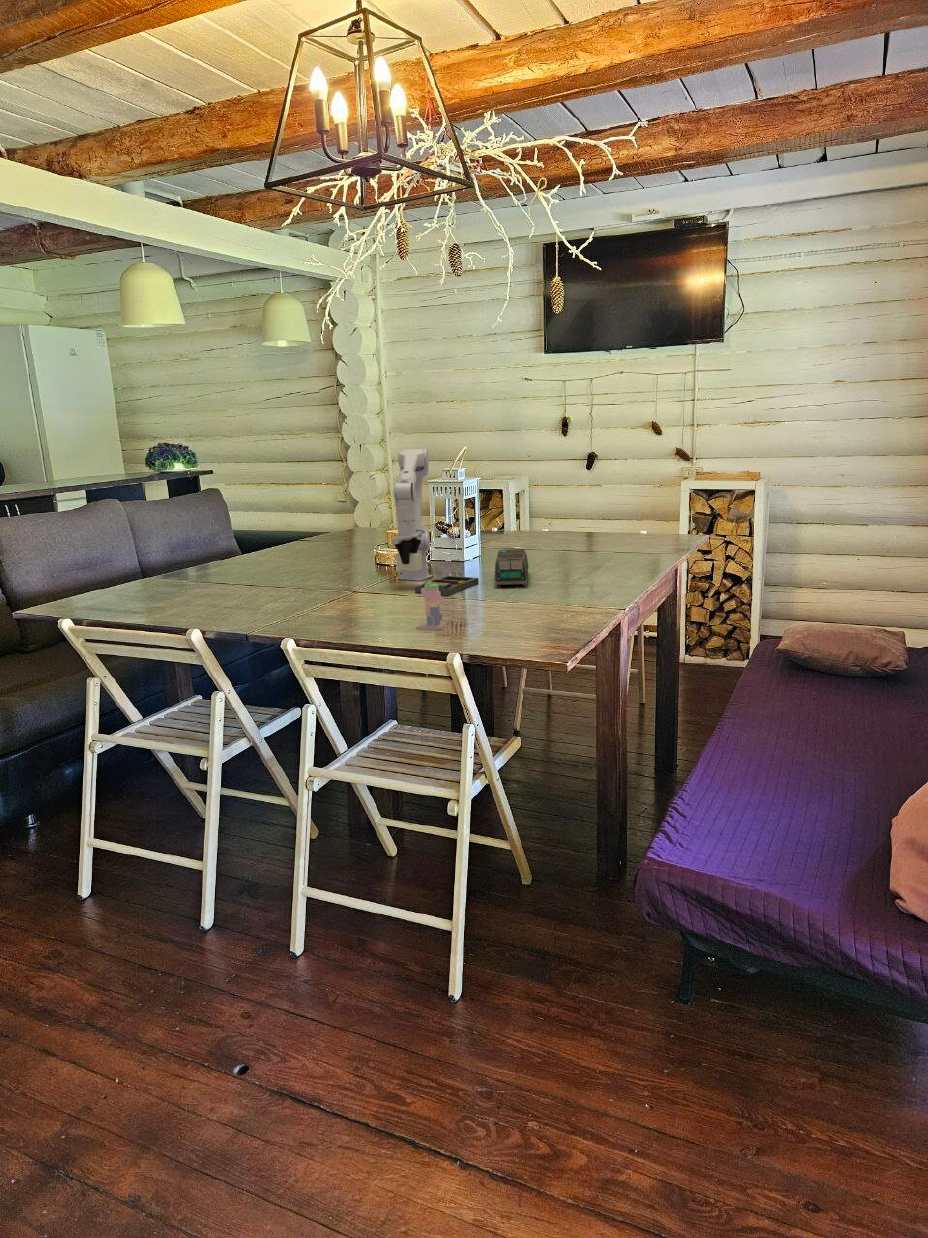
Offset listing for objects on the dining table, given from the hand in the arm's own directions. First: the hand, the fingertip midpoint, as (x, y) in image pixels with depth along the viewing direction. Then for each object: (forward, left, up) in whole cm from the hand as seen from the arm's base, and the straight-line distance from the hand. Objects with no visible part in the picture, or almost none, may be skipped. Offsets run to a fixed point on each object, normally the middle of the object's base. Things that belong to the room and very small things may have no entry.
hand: (408, 562), depth 271 cm
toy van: (+26, +22, -9) cm, 35 cm away
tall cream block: (0, 0, -2) cm, 2 cm away
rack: (+12, +3, -8) cm, 15 cm away
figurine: (+34, -39, -8) cm, 52 cm away
